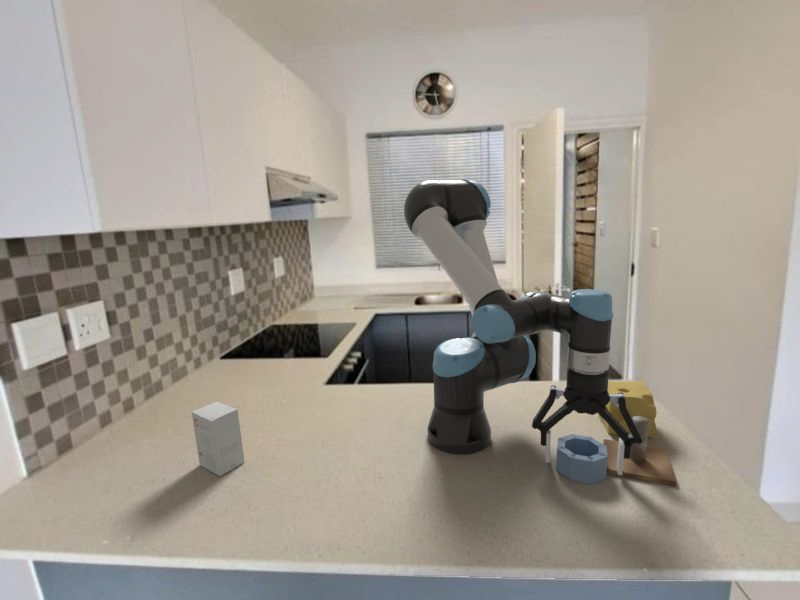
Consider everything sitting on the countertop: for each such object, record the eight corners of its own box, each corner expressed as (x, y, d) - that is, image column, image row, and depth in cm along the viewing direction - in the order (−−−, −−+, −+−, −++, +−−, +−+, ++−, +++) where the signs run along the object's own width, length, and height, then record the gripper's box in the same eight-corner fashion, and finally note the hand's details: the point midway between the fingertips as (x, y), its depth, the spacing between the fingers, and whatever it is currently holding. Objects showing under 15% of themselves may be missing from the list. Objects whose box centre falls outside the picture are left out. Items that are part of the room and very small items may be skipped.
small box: (245, 462, 95) (238, 408, 92) (219, 477, 90) (211, 421, 87) (224, 451, 99) (217, 400, 96) (198, 465, 94) (190, 411, 91)
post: (606, 473, 86) (610, 428, 84) (603, 442, 97) (606, 402, 95) (675, 486, 82) (681, 439, 79) (664, 452, 92) (668, 410, 90)
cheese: (655, 438, 98) (659, 399, 96) (605, 435, 100) (608, 396, 98) (640, 417, 108) (643, 380, 106) (595, 414, 110) (597, 378, 108)
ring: (555, 477, 86) (556, 455, 84) (557, 452, 94) (558, 431, 93) (606, 487, 82) (608, 464, 81) (603, 460, 90) (605, 439, 89)
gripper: (520, 368, 84) (518, 464, 89) (665, 382, 75) (655, 488, 79) (523, 356, 91) (522, 445, 95) (657, 367, 82) (648, 465, 86)
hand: (582, 465), depth 87 cm, fingers open, 13 cm apart
